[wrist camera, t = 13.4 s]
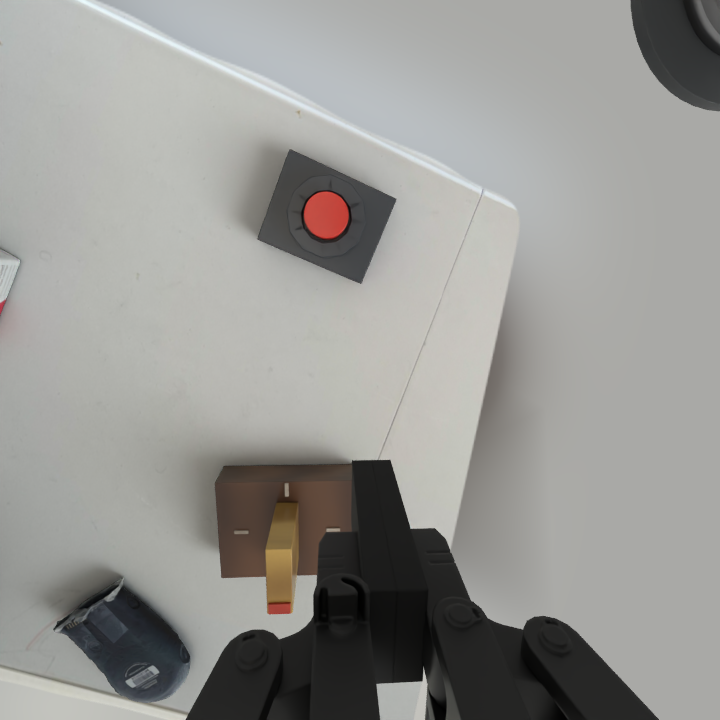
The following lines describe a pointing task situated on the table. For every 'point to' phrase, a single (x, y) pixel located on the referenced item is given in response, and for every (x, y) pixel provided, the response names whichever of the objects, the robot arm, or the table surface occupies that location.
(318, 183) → the grey square base
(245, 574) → the plate
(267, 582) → the thumb turn
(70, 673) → the table surface
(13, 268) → the ink box
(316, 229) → the button
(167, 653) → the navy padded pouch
